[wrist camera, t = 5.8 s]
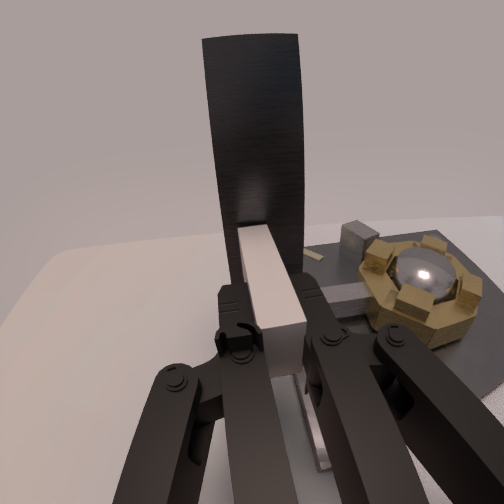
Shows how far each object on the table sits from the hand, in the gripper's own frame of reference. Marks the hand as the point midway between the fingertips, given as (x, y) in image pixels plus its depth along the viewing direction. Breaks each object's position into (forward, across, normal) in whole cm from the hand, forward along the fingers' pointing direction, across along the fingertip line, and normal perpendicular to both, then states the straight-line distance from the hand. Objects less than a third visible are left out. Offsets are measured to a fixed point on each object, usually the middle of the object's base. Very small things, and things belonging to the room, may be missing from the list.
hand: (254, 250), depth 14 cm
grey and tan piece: (+1, +8, -7) cm, 11 cm away
